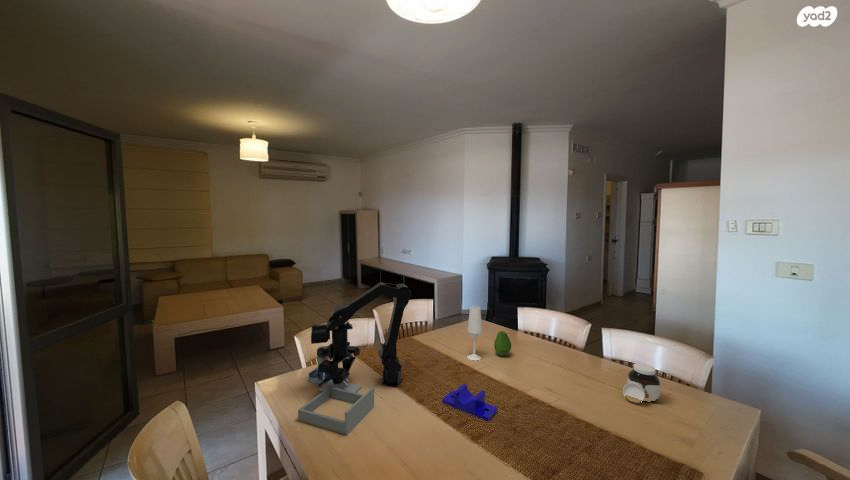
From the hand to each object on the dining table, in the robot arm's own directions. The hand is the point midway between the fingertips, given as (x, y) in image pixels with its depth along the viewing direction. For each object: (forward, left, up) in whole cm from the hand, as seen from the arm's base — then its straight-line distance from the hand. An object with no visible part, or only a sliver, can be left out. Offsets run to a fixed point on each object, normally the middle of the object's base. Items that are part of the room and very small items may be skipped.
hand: (340, 380), depth 125 cm
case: (-8, +13, -4) cm, 16 cm away
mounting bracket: (-48, -8, -4) cm, 49 cm away
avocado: (-53, -55, -4) cm, 77 cm away
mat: (0, 0, -4) cm, 4 cm away
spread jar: (-106, -37, -4) cm, 112 cm away
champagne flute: (-41, -47, -4) cm, 63 cm away
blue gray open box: (+11, -3, -4) cm, 12 cm away
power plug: (+2, +1, -2) cm, 3 cm away
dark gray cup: (+11, -3, -3) cm, 12 cm away
